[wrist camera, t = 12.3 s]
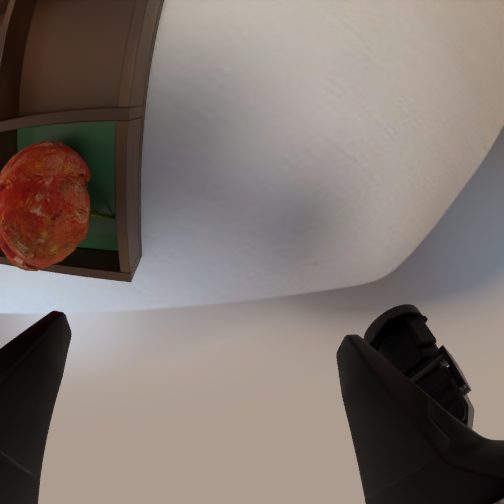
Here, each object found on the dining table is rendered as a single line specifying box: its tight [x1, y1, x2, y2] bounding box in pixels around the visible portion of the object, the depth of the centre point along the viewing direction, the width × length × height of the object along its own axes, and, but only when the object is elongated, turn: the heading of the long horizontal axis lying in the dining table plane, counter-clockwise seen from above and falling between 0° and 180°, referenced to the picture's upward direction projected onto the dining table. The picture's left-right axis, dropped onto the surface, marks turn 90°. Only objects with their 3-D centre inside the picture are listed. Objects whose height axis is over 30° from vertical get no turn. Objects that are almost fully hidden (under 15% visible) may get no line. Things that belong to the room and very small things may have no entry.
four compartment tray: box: [0, 0, 164, 282], centre depth 12 cm, size 20×20×3 cm
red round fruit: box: [0, 141, 115, 271], centre depth 13 cm, size 7×7×10 cm
